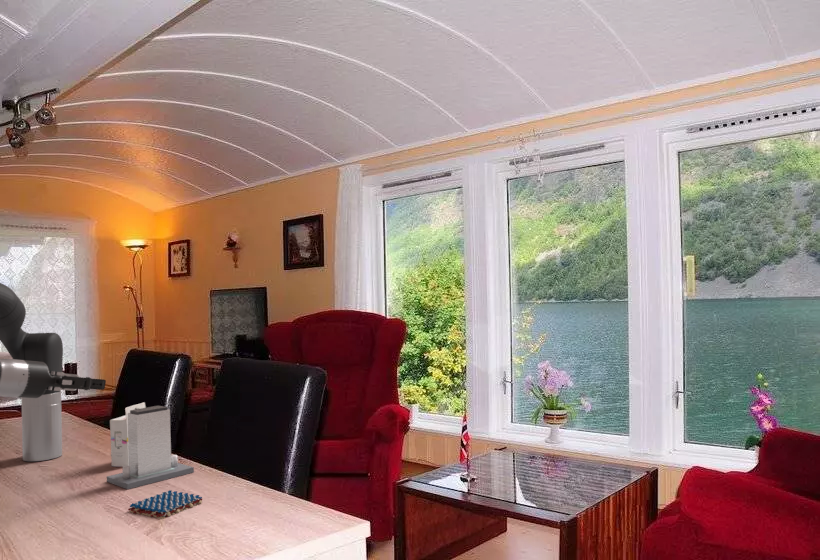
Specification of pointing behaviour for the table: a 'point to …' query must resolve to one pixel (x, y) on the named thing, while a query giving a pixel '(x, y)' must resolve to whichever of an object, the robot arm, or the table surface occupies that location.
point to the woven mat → (165, 504)
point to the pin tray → (132, 481)
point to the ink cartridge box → (121, 437)
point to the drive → (149, 440)
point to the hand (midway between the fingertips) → (94, 383)
